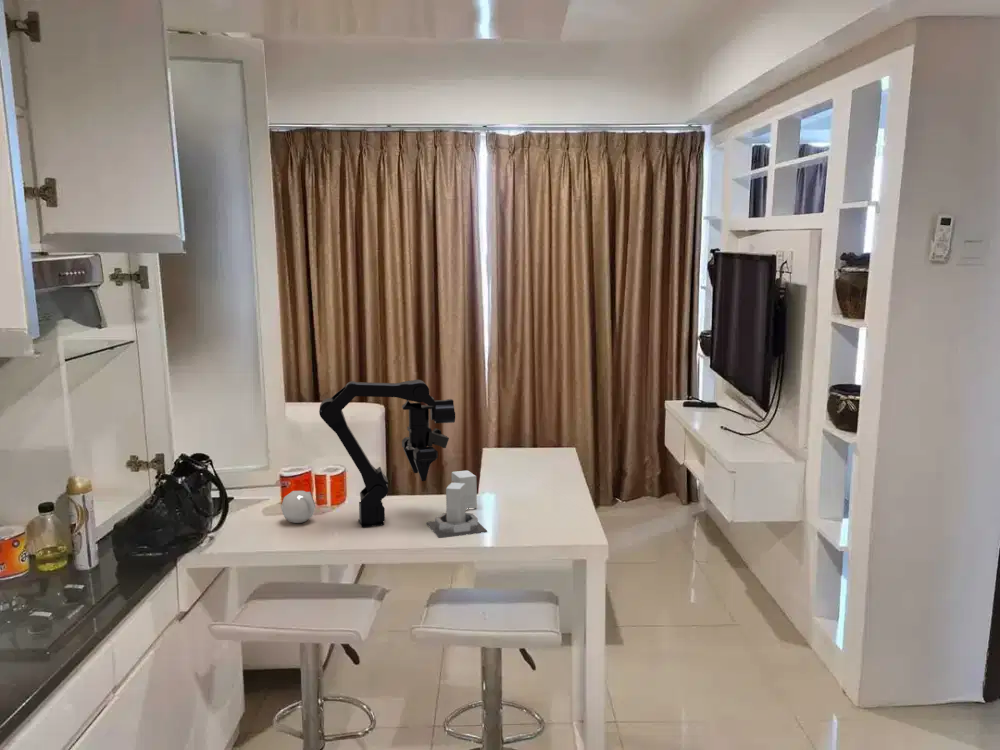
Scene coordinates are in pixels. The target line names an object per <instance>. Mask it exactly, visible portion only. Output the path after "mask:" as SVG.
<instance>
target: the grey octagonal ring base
mask: <svg viewBox="0 0 1000 750" xmlns="http://www.w3.org/2000/svg"><path fill="white" fill-rule="evenodd" d="M478 520H479V519H478V517H477V516H476V515H475V514H474V513H471V512H466V522H465V523H456V524H454V523H447V513H446V512H443V513H441V514H440V515H438V516H435V517H434V521H426V525H427V524H428V525H429V526H430V527H429V526H428V525H427V526H428V527H429V528H430V530H431V531H432V530H433V531H432V532H433V533H434V534H435V536H437V538H438V539H441V538H449V537H458V536H459V535H460V536H467V535H466V534H468V535H474V534H473V533H476V534H482V533H481V532H484V533H488V530H487V529H486V528H485V527H484V526H483V525H482V524H480V522H479V521H478Z"/></svg>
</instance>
